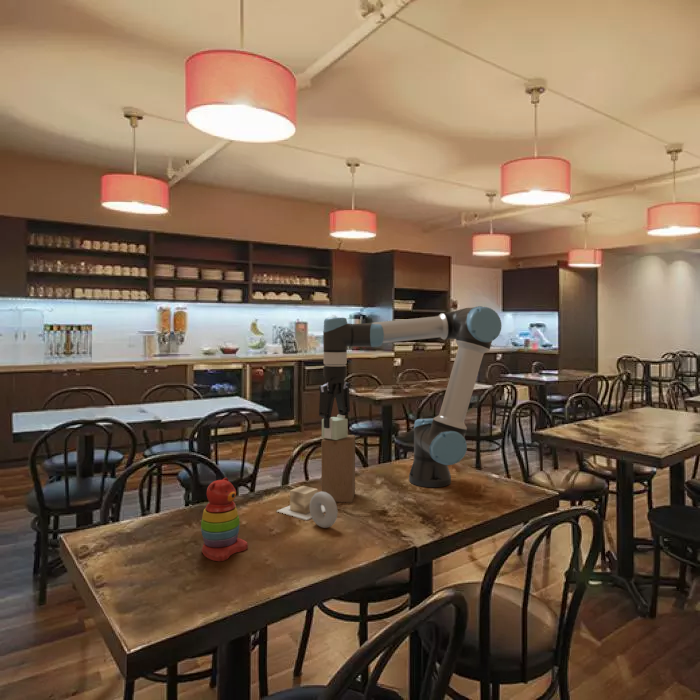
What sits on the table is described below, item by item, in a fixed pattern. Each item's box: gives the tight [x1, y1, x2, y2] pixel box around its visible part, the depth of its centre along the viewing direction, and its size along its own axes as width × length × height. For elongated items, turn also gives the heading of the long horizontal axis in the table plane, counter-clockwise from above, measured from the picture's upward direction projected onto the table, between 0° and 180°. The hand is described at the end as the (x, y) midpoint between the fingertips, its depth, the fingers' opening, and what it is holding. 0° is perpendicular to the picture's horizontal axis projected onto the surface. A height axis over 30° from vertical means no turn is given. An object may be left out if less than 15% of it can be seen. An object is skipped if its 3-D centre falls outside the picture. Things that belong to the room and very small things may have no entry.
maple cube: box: [289, 485, 319, 514], centre depth 159 cm, size 6×6×6 cm
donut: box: [310, 490, 339, 529], centre depth 146 cm, size 10×4×10 cm, turn 46°
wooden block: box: [320, 434, 356, 504], centre depth 172 cm, size 10×10×20 cm
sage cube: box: [321, 416, 349, 440], centre depth 169 cm, size 6×6×6 cm
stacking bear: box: [200, 477, 249, 562], centre depth 131 cm, size 11×10×18 cm
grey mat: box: [276, 504, 326, 521], centre depth 160 cm, size 12×12×1 cm
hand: (334, 436), depth 170 cm, fingers closed on sage cube, 6 cm apart
